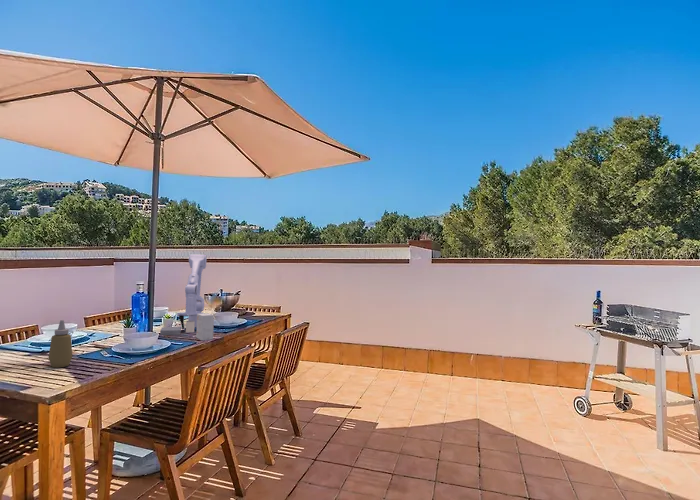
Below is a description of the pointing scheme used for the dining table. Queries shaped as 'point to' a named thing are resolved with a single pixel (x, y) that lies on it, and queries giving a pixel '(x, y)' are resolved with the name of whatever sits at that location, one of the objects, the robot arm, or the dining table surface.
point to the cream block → (190, 326)
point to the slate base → (170, 331)
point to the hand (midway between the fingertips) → (190, 328)
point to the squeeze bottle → (60, 347)
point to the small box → (205, 326)
